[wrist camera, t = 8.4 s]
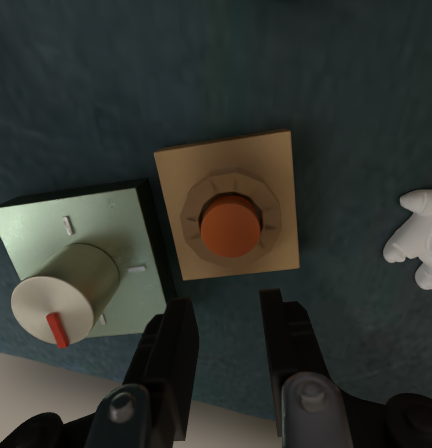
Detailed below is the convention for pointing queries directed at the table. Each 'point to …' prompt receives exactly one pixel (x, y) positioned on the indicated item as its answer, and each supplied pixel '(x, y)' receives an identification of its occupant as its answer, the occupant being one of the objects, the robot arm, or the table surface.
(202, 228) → the button
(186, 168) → the button block
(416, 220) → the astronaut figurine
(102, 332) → the control knob panel
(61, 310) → the rotary dial knob
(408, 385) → the table surface
